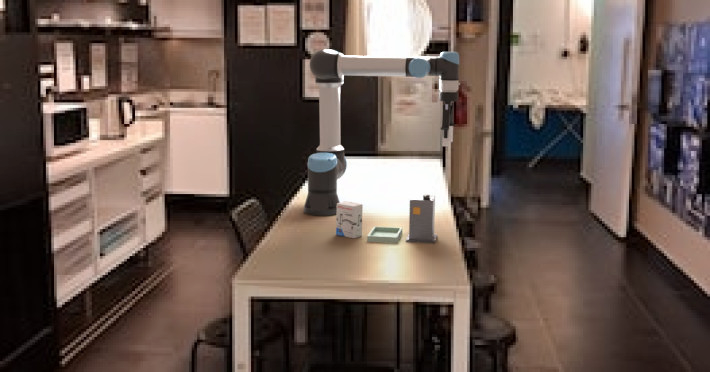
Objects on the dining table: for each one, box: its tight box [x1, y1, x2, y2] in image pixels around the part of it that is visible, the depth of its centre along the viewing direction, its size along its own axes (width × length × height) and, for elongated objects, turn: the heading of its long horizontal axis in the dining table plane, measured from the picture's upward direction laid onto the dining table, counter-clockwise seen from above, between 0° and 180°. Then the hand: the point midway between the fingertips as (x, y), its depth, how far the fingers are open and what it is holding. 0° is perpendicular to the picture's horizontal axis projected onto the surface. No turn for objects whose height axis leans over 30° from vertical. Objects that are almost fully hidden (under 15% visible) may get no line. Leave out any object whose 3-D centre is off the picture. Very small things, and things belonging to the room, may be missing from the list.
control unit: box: [405, 194, 438, 244], centre depth 274 cm, size 10×10×16 cm
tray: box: [366, 225, 403, 244], centre depth 278 cm, size 10×14×2 cm
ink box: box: [335, 200, 363, 239], centre depth 279 cm, size 9×5×12 cm, turn 52°
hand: (447, 144), depth 316 cm, fingers open, 13 cm apart
